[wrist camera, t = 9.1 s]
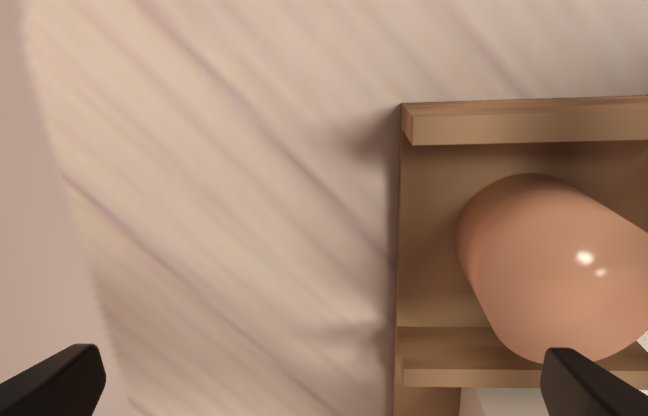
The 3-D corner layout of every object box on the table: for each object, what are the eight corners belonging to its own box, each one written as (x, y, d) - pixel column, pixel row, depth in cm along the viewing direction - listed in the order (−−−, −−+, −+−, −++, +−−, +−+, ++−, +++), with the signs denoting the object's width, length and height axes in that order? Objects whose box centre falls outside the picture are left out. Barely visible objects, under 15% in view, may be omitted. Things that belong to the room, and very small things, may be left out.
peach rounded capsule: (602, 170, 18) (691, 215, 13) (577, 292, 20) (646, 366, 15) (459, 173, 18) (496, 217, 14) (449, 292, 20) (479, 365, 16)
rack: (669, 94, 17) (750, 107, 14) (572, 482, 26) (608, 552, 22) (401, 103, 18) (413, 117, 15) (390, 477, 26) (397, 544, 23)
